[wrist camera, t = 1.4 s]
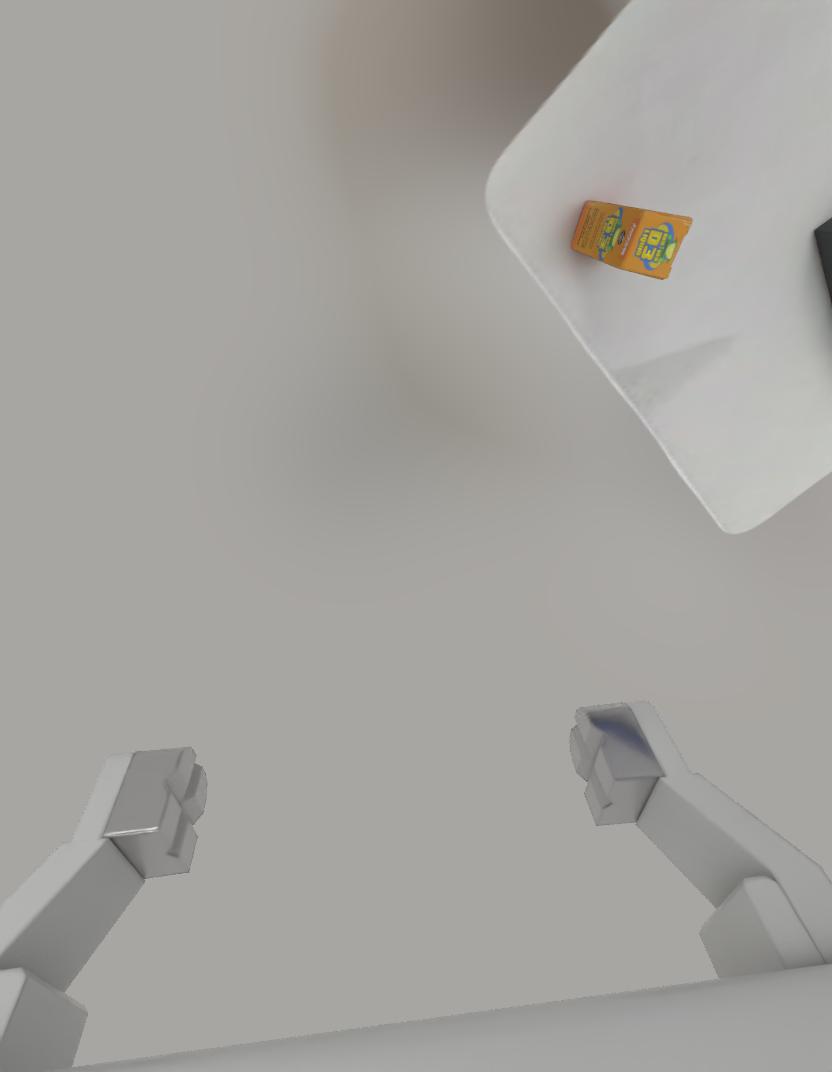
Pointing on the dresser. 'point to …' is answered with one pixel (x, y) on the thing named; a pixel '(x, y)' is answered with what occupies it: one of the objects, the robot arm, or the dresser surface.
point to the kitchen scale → (826, 250)
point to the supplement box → (630, 237)
